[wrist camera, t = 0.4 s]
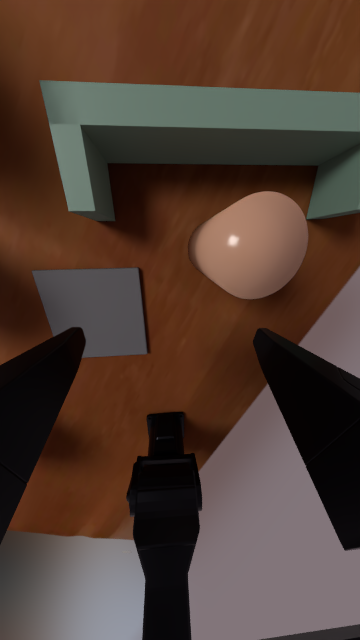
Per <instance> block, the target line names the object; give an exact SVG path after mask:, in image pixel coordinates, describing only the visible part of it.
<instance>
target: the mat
mask: <svg viewBox="0 0 360 640" xmlns="http://www.w3.org/2000/svg"><path fill="white" fill-rule="evenodd" d="M32 274H33V277H34V280H35V283H36V285H37V288H38V291H39V294H40V297H41V300H42V303H43V306H44V309H45V312H46V315H47V318H48V321H49V324H50V327H51V330H52V333H53V336H56V335H58V334H60V333H62V332H64V331H65V330H67V329H69V328H71V327H81V328H82V329H83V332H84V335H85V338H86V346H85V349H84V352H83V355H82V358H83V357H101V356H119V355H137V354H147V343H146V333H145V323H144V314H143V304H142V294H141V285H140V275H139V268H105V269H66V270H34V271H32Z"/></svg>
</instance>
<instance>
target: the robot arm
mask: <svg viewBox="0 0 360 640" xmlns="http://www.w3.org/2000/svg"><path fill="white" fill-rule="evenodd" d="M253 345H254V348H255V351H256V354H257V357H258V360H259V363H260V366H261V369H262V371H263V373H264V376H265V378H266V380H267V382H268V384H269V387H270V389H271V391H272V393H273V395H274V398H275V400H276V402H277V404H278V406H279V409H280V411H281V413H282V415H283V417H284V419H285V421H286V424H287V426H288V428H289V430H290V433H291V435H292V437H293V439H294V441H295V444H296V446H297V448H298V450H299V452H300V455H301V457H302V459H303V461H304V463H305V465H306V468H307V470H308V472H309V474H310V477H311V479H312V481H313V483H314V486H315V488H316V490H317V492H318V494H319V496H320V499H321V501H322V503H323V505H324V507H325V510H326V512H327V514H328V516H329V518H330V521H331V523H332V525H333V527H334V529H335V532H336V534H337V536H338V538H339V540H340V542H341V544H342V546H343V548H344V550H345V551H347V550H356V549H360V379H359V378H357V377H356V376H354V375H352V374H350V373H348V372H346V371H344V370H343V369H341V368H338V367H336V366H335V365H333V364H331V363H329V362H327V361H326V360H324V359H322V358H320V357H318V356H317V355H315V354H313V353H311V352H309V351H307V350H305V349H304V348H302V347H300V346H298V345H296V344H294V343H293V342H291V341H289V340H287V339H285V338H283V337H282V336H280V335H278V334H276V333H274V332H272V331H270V330H269V329H267V328H259V329H257V331H256V334H255V337H254V340H253ZM85 346H86V338H85V335H84V332H83V329H82V328H81V327H71V328H69V329H67V330H65V331H64V332H62V333H60V334H58V335H56V336H54V337H52V338H50V339H49V340H47V341H45V342H43V343H41V344H39V345H37V346H35V347H34V348H32V349H30V350H28V351H26V352H24V353H22V354H21V355H19V356H17V357H15V358H13V359H11V360H9V361H7V362H6V363H4V364H2V365H0V544H1V542H2V540H3V537H4V535H5V533H6V531H7V528H8V526H9V524H10V522H11V519H12V517H13V515H14V513H15V511H16V508H17V506H18V504H19V502H20V499H21V497H22V495H23V493H24V490H25V488H26V486H27V483H28V481H29V479H30V477H31V474H32V472H33V470H34V468H35V465H36V463H37V461H38V459H39V456H40V454H41V452H42V450H43V448H44V445H45V443H46V441H47V439H48V436H49V434H50V432H51V430H52V427H53V425H54V423H55V421H56V418H57V416H58V414H59V412H60V410H61V407H62V405H63V403H64V401H65V398H66V396H67V394H68V392H69V389H70V387H71V385H72V383H73V380H74V378H75V376H76V374H77V371H78V368H79V365H80V362H81V359H82V355H83V352H84V349H85ZM147 426H148V434H149V448H148V456H142V457H141V456H138V457H137V462H135V463H134V465H133V472H132V477H131V481H130V484H129V488H128V491H127V496H126V499H127V501H128V503H129V508H130V517H133V516H134V526H133V538H134V541H135V544H136V548H137V552H138V554H139V558H140V561H141V565H142V569H143V572H144V575H145V580H146V581H145V601H144V618H143V638H142V640H191V626H190V608H189V590H188V571H189V568H190V564H191V560H192V556H193V552H194V549H195V545H196V542H197V538H198V534H199V529H200V525H199V513H198V511H201V510H202V492H201V484H200V478H199V473H198V468H197V463H196V458H195V454H194V453H191V454H184V446H183V438H184V413H183V412H176V413H163V414H150V415H147ZM261 640H360V624H359V625H353V626H346V627H339V628H333V629H326V630H320V631H313V632H307V633H300V634H294V635H287V636H280V637H274V638H267V639H261Z"/></svg>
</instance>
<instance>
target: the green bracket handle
mask: <svg viewBox="0 0 360 640" xmlns="http://www.w3.org/2000/svg"><path fill="white" fill-rule="evenodd" d="M39 81H40V85H41V90H42V94H43V99H44V103H45V107H46V112H47V116H48V121H49V125H50V130H51V134H52V139H53V143H54V147H55V152H56V156H57V161H58V165H59V170H60V174H61V178H62V183H63V187H64V192H65V196H66V201H67V205H68V209H69V211H70V212H73V213H76V214H78V215H81V216H84V217H87V218H90V219H92V220H95V221H115V215H114V207H113V200H112V193H111V186H110V179H109V172H108V165H107V163H138V164H227V165H316V166H318V170H317V174H316V179H315V183H314V187H313V192H312V196H311V200H310V205H309V209H308V214H307V218H306V219H326V218H331V217H337V216H343V215H349V214H355V213H360V93H348V92H323V91H297V90H272V89H246V88H220V87H195V86H169V85H144V84H118V83H92V82H67V81H41V80H39Z"/></svg>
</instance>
